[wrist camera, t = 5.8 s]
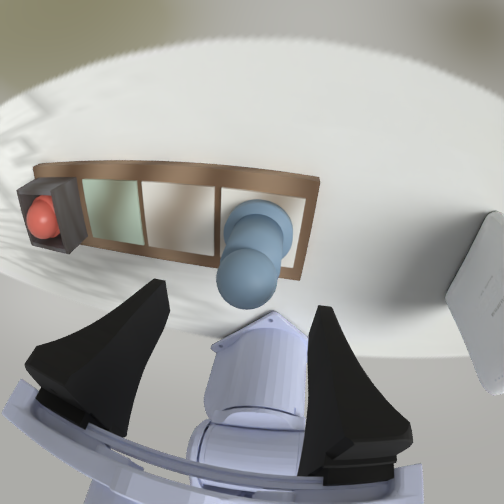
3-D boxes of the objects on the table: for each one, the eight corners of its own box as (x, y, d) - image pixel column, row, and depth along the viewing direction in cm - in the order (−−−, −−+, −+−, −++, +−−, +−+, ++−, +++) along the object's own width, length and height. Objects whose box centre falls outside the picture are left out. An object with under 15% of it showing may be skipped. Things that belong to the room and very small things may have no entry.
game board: (319, 177, 18) (324, 199, 14) (299, 272, 22) (299, 307, 19) (39, 163, 20) (11, 179, 16) (54, 233, 24) (31, 253, 21)
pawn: (258, 268, 21) (242, 341, 15) (213, 226, 19) (178, 291, 14) (306, 234, 19) (309, 305, 13) (260, 185, 17) (240, 241, 11)
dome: (67, 188, 19) (38, 208, 16) (76, 229, 21) (50, 252, 18) (41, 188, 19) (13, 206, 16) (50, 225, 22) (25, 245, 18)
